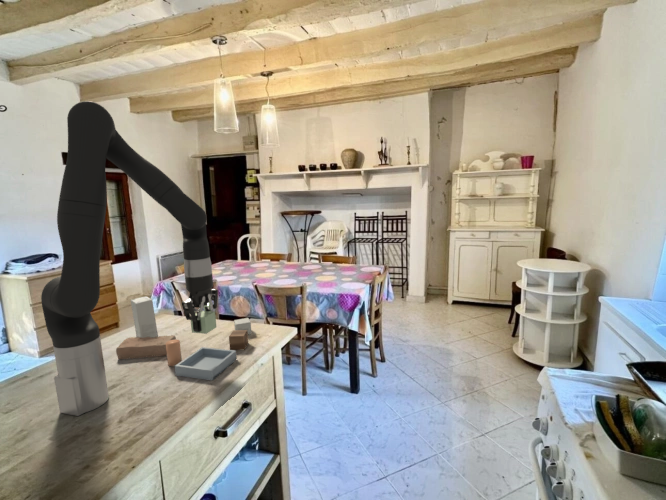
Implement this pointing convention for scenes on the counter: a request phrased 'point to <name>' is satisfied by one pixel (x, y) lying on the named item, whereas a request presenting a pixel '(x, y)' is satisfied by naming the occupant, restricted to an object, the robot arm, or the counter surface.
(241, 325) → the small box
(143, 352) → the brick
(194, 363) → the tray
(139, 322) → the skincare box
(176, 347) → the peach capsule
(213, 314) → the green block
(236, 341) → the walnut cube
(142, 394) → the counter surface
